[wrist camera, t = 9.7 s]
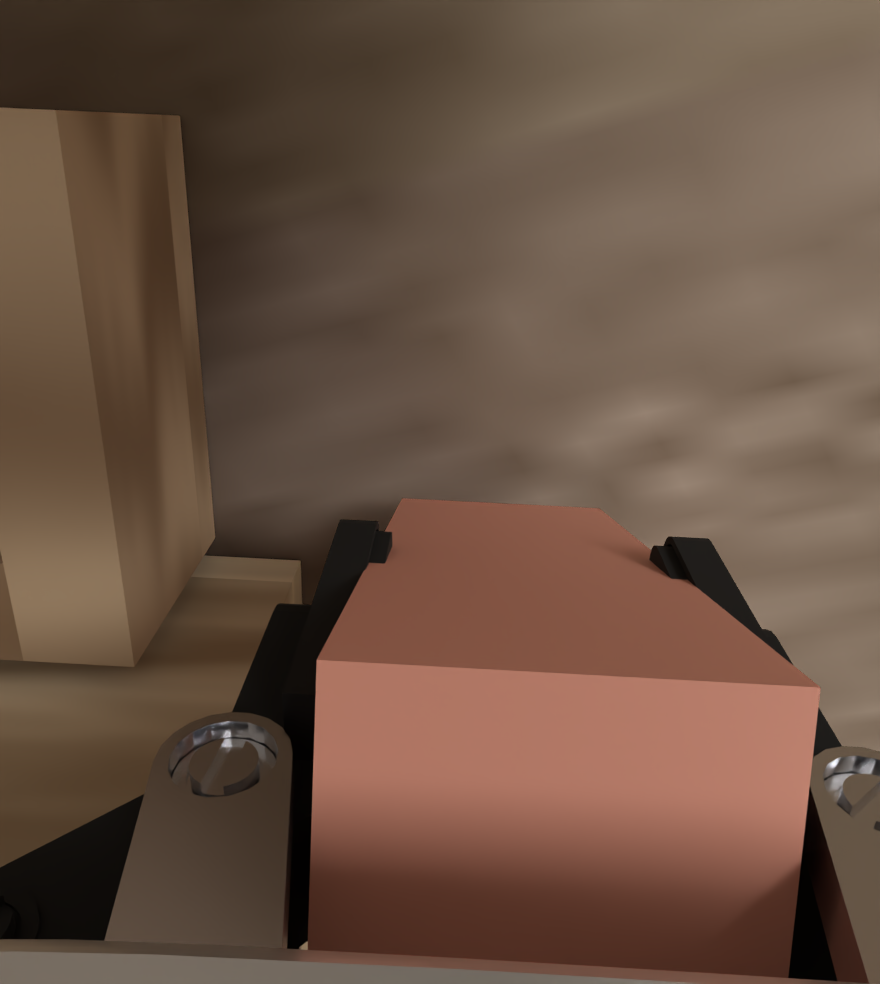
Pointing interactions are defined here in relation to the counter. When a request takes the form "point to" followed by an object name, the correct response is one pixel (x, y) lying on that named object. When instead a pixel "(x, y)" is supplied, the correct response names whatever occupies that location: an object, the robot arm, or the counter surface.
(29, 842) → the wooden box
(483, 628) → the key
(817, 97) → the counter surface
